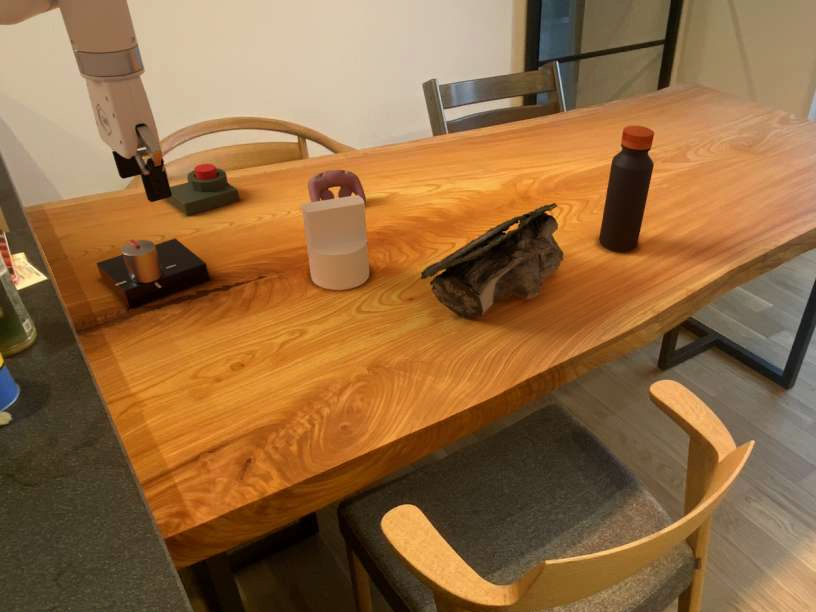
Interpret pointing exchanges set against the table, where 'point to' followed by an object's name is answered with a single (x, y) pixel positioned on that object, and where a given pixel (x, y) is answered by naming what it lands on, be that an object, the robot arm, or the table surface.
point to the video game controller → (334, 185)
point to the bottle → (627, 190)
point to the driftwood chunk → (498, 264)
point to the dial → (142, 261)
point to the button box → (203, 193)
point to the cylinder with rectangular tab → (337, 242)
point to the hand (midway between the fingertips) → (145, 187)
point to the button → (205, 171)
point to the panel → (177, 275)
